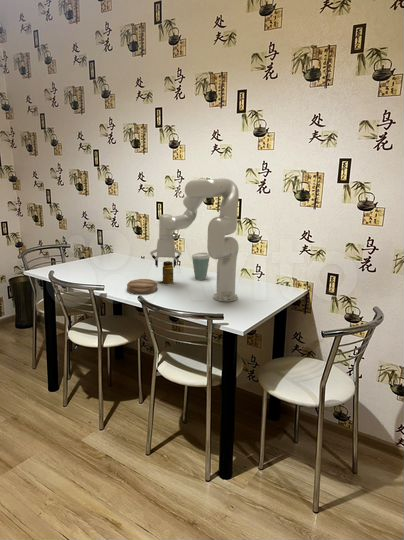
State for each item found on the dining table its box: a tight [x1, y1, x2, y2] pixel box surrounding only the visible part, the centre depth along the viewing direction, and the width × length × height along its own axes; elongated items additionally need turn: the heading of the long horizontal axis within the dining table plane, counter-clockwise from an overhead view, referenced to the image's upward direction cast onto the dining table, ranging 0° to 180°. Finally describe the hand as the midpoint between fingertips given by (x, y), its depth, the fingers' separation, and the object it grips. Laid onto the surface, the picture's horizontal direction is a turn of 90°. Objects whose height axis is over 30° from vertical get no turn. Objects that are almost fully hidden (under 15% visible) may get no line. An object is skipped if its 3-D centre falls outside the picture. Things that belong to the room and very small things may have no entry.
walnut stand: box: [126, 278, 158, 295], centre depth 230 cm, size 16×16×4 cm
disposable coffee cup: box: [191, 252, 211, 281], centre depth 252 cm, size 11×11×15 cm
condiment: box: [157, 261, 176, 286], centre depth 243 cm, size 7×8×12 cm
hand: (165, 266), depth 242 cm, fingers open, 9 cm apart
